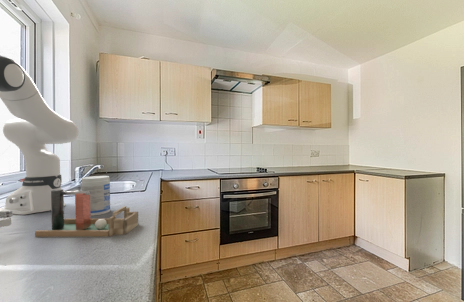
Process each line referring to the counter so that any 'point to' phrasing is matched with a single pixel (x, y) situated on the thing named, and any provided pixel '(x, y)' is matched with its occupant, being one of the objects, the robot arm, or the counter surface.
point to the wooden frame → (122, 222)
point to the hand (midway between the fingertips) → (11, 217)
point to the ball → (100, 223)
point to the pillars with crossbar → (80, 208)
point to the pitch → (71, 231)
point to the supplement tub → (97, 193)
